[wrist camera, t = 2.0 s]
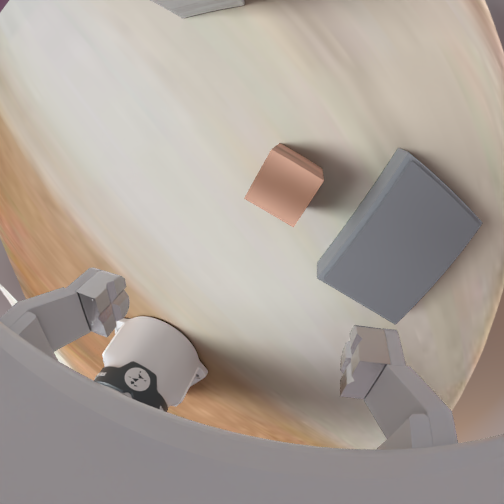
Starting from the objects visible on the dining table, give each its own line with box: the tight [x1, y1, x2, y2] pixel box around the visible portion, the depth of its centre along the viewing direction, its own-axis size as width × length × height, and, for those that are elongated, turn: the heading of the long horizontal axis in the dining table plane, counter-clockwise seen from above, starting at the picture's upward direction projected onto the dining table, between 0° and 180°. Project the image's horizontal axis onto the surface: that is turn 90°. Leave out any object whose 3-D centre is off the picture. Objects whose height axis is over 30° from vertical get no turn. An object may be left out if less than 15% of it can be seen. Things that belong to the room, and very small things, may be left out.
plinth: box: [317, 148, 483, 325], centre depth 27 cm, size 16×12×4 cm
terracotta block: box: [244, 143, 324, 227], centre depth 26 cm, size 5×5×6 cm
